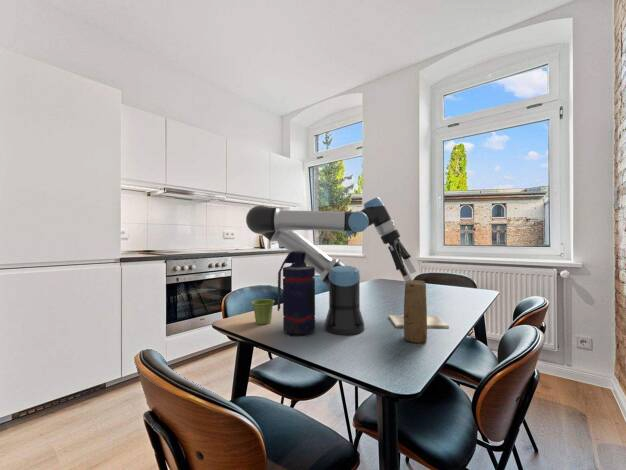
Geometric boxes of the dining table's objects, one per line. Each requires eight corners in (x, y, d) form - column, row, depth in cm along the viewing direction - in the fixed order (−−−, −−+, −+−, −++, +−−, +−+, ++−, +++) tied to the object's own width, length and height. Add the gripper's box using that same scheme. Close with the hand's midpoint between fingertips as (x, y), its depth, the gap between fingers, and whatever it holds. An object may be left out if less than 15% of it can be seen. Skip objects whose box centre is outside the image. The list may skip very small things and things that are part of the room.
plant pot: (247, 324, 123) (246, 303, 123) (259, 318, 131) (259, 298, 131) (267, 327, 119) (267, 305, 119) (278, 320, 128) (278, 300, 128)
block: (427, 345, 99) (427, 284, 99) (403, 342, 101) (403, 282, 101) (426, 334, 109) (426, 279, 109) (405, 332, 112) (404, 278, 111)
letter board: (396, 327, 117) (396, 324, 117) (388, 317, 131) (388, 314, 131) (448, 328, 116) (448, 325, 116) (436, 317, 130) (436, 315, 130)
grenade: (315, 326, 119) (315, 250, 119) (314, 337, 107) (314, 252, 107) (280, 326, 120) (279, 250, 119) (275, 337, 108) (275, 252, 107)
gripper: (390, 233, 115) (417, 283, 114) (400, 223, 137) (422, 265, 137) (373, 241, 118) (398, 290, 118) (385, 231, 141) (407, 271, 140)
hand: (411, 277), depth 127 cm, fingers open, 13 cm apart
